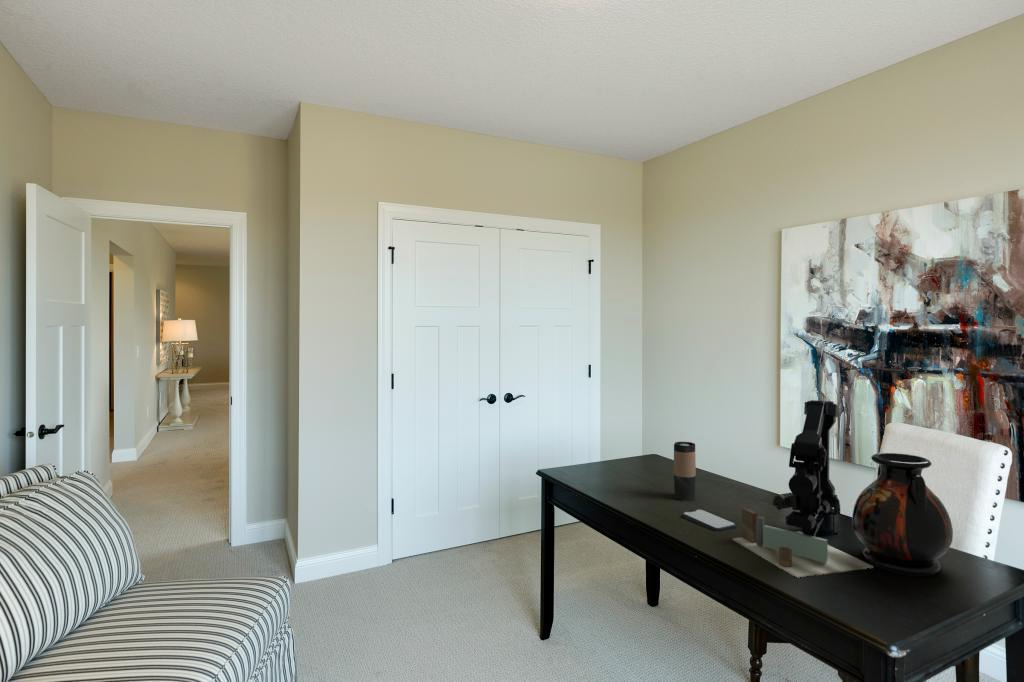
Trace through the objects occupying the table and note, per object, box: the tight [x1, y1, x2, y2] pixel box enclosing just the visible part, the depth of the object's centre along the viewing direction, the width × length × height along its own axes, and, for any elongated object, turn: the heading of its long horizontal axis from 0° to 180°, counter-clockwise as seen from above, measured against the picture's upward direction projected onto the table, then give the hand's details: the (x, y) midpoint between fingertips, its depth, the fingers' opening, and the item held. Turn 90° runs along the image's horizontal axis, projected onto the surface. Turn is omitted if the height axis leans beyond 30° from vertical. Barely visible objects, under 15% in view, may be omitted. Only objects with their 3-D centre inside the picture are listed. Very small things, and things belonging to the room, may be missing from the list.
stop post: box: [779, 547, 792, 567], centre depth 146 cm, size 3×3×4 cm
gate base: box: [732, 507, 875, 579], centre depth 154 cm, size 23×26×9 cm
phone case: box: [681, 509, 737, 532], centre depth 180 cm, size 9×2×16 cm
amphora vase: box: [851, 452, 954, 577], centre depth 146 cm, size 22×22×28 cm
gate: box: [756, 516, 829, 562], centre depth 153 cm, size 18×2×8 cm, turn 45°
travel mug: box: [673, 441, 697, 501], centre depth 205 cm, size 8×8×20 cm
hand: (808, 543), depth 152 cm, fingers closed
